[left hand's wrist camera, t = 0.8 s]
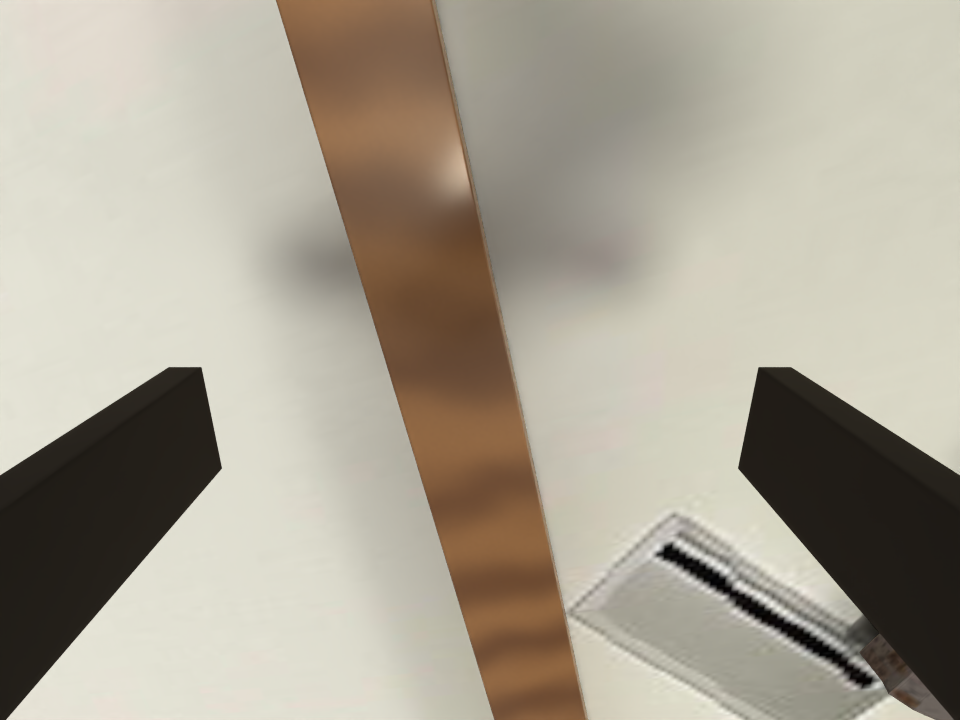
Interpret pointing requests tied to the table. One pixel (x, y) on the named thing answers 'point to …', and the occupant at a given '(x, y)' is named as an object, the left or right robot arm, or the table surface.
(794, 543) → the table surface
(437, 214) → the post
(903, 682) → the toy
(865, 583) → the left robot arm
